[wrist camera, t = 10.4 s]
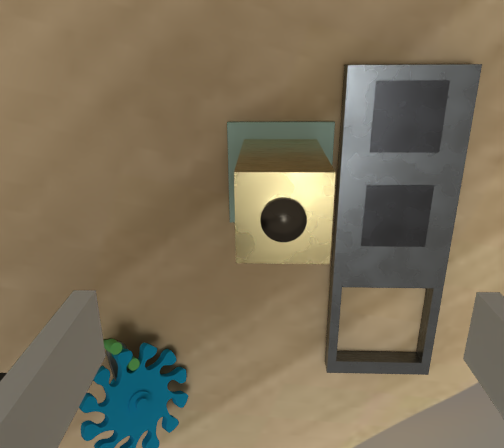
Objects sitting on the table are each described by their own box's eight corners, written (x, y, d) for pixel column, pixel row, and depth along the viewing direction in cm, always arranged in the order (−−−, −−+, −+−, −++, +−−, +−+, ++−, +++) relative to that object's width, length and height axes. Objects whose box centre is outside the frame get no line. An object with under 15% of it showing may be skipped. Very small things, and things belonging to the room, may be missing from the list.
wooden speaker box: (244, 207, 35) (235, 264, 25) (243, 139, 33) (233, 173, 23) (313, 208, 35) (330, 265, 25) (316, 139, 33) (336, 173, 23)
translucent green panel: (230, 220, 36) (229, 222, 35) (227, 121, 33) (227, 122, 33) (328, 221, 36) (328, 223, 35) (334, 121, 33) (334, 122, 32)
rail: (324, 361, 41) (327, 373, 39) (344, 64, 31) (348, 65, 30) (422, 363, 40) (428, 375, 39) (472, 64, 31) (482, 64, 29)
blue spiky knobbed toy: (202, 421, 42) (104, 491, 36) (172, 400, 46) (79, 458, 40) (174, 316, 39) (63, 372, 33) (144, 304, 44) (42, 352, 38)
